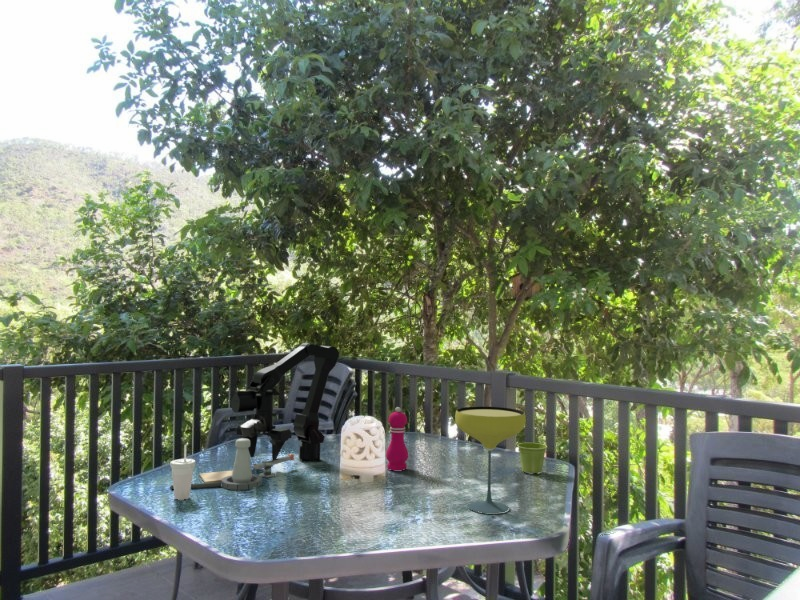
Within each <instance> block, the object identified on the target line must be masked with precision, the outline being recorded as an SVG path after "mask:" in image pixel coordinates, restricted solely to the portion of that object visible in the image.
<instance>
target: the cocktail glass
mask: <svg viewBox="0 0 800 600" xmlns="http://www.w3.org/2000/svg"><path fill="white" fill-rule="evenodd" d="M454 418H455V419H454V421H455V425H456V427H458V428H459V429H460V431H462V432H463V433H465V434H466V435H468V436H469V437H472V438H473V439H475V440H477V441H478V442H480V444H482V446H483V448H484V449H485V450H486V451H488V454H487V455H488V458H487V459H488V467H487V469H488V470H487V471H488V473H487V492H486V494H487V495H486V499H485V500H479V501H473V503H472V502H470V503H469V504H468V505H469V506H468V505H467V508H468V507H469V508H470V509H472V510H474V511H477V512H478V511H479V512H482V513H499V512H505V511H507V510H508V508H509V507H510V506H509V505H507V504H506V505H507V506H506V505H505V503H502V502H499V501H493V499H492V487H491V484H492V483H491V474H492V472H491V470H492V467H491V465H492V464H491V462H492V461H491V459H492V451H493V450H495V448H496V447H497V446H498V444H500V443H501V442H504V441H505V440H507V439H510V438H512V437H515V436H516V435H518V434H520V432H522V430H524V429H525V426H526V421H527V419H526V413H525V412H524V411H523V410H520V409H516V408H510V407H500V406H466V407H460V408H457V409H456V411H455V417H454ZM508 506H509V507H508ZM469 508H468V509H469ZM470 509H469V510H470Z"/></svg>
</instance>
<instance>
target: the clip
mask: <svg viewBox="0 0 800 600" xmlns="http://www.w3.org/2000/svg"><path fill="white" fill-rule="evenodd" d="M294 455H295V454H293V453H288V454H287V455H285V456H283V457H277V458H276V459H274V460H272V459H271V460H264V461H261V463H260V462H259V463H253V464H252V468H253V470H255V469H256V470H264V468H265V467H271V468H272V467H274V466H275V465H278V464H281V463H284V462H285V463H286V462H288V461H294V459H295V458H294V457H295V456H294Z"/></svg>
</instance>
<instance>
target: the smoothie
mask: <svg viewBox="0 0 800 600" xmlns="http://www.w3.org/2000/svg"><path fill="white" fill-rule="evenodd" d="M183 451H184V452H183V458H178V459H173V460H171V461H170V463H169V466H170V467H171V476H172V485H173V488H174V490H173V496H174V500H175V499H178V500H177V501H184V499H186V500H188V499H190V495H191V490H192V488H191V484H193V482H192V481H193V477H194V476H193V475H194V468H195V466H196V460H195V459H193V458H187V444H184V448H183Z"/></svg>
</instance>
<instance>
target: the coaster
mask: <svg viewBox="0 0 800 600" xmlns="http://www.w3.org/2000/svg"><path fill="white" fill-rule="evenodd" d="M232 472H233V469H232V470H223V471H222V470H221V471H212V472H200V473H198V476H199V478H200V479H201V480H202V482H204V483H217V482H221V483H222V479H223V478H225V477H227V476H231V475H232Z"/></svg>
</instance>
